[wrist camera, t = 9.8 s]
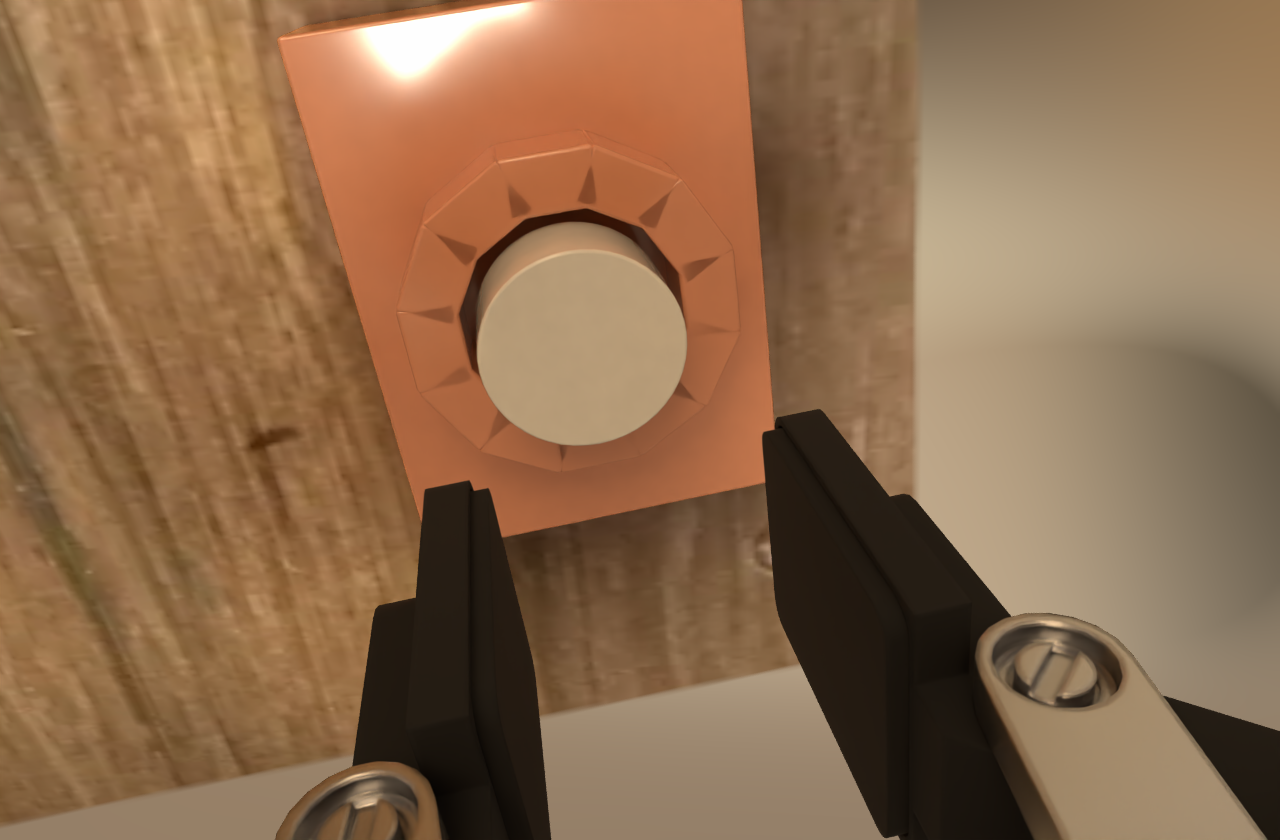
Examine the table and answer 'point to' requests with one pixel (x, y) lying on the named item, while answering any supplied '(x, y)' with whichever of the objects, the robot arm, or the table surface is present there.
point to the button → (578, 334)
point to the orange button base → (544, 224)
